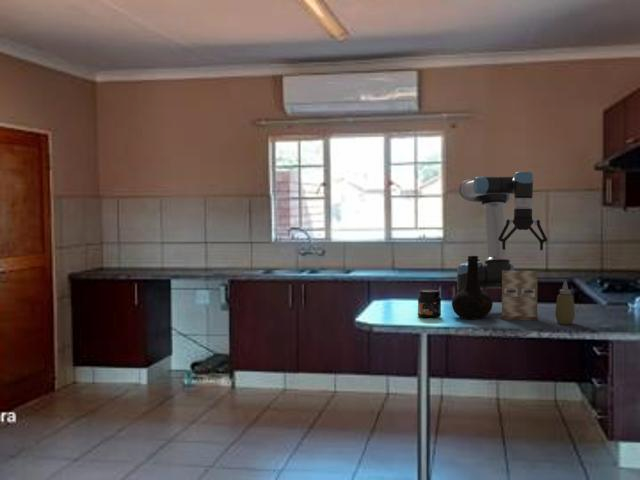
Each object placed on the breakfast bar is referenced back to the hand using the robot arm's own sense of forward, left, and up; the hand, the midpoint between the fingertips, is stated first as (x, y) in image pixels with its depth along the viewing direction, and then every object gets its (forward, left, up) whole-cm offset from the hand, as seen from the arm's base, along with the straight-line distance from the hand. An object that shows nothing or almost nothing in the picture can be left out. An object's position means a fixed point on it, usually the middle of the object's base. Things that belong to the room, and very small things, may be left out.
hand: (522, 257), depth 323 cm
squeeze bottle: (+18, +1, -28) cm, 33 cm away
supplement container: (-40, +9, -28) cm, 50 cm away
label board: (-1, +10, -28) cm, 30 cm away
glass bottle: (-21, +10, -28) cm, 37 cm away
